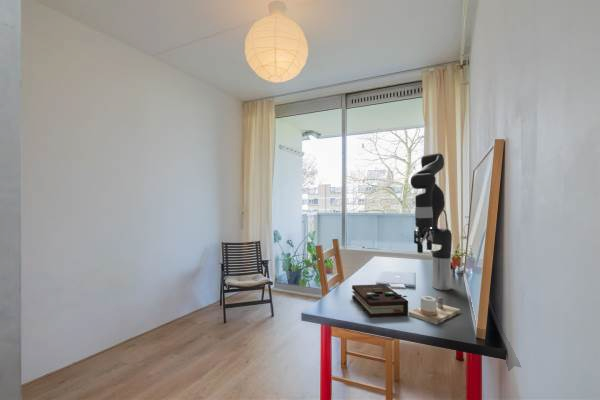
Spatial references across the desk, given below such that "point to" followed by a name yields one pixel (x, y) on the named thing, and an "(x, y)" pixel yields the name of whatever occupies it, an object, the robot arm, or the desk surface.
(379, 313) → the decorative book
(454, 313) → the pin board
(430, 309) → the sleeve
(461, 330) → the desk surface
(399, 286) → the hard drive
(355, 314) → the desk surface
